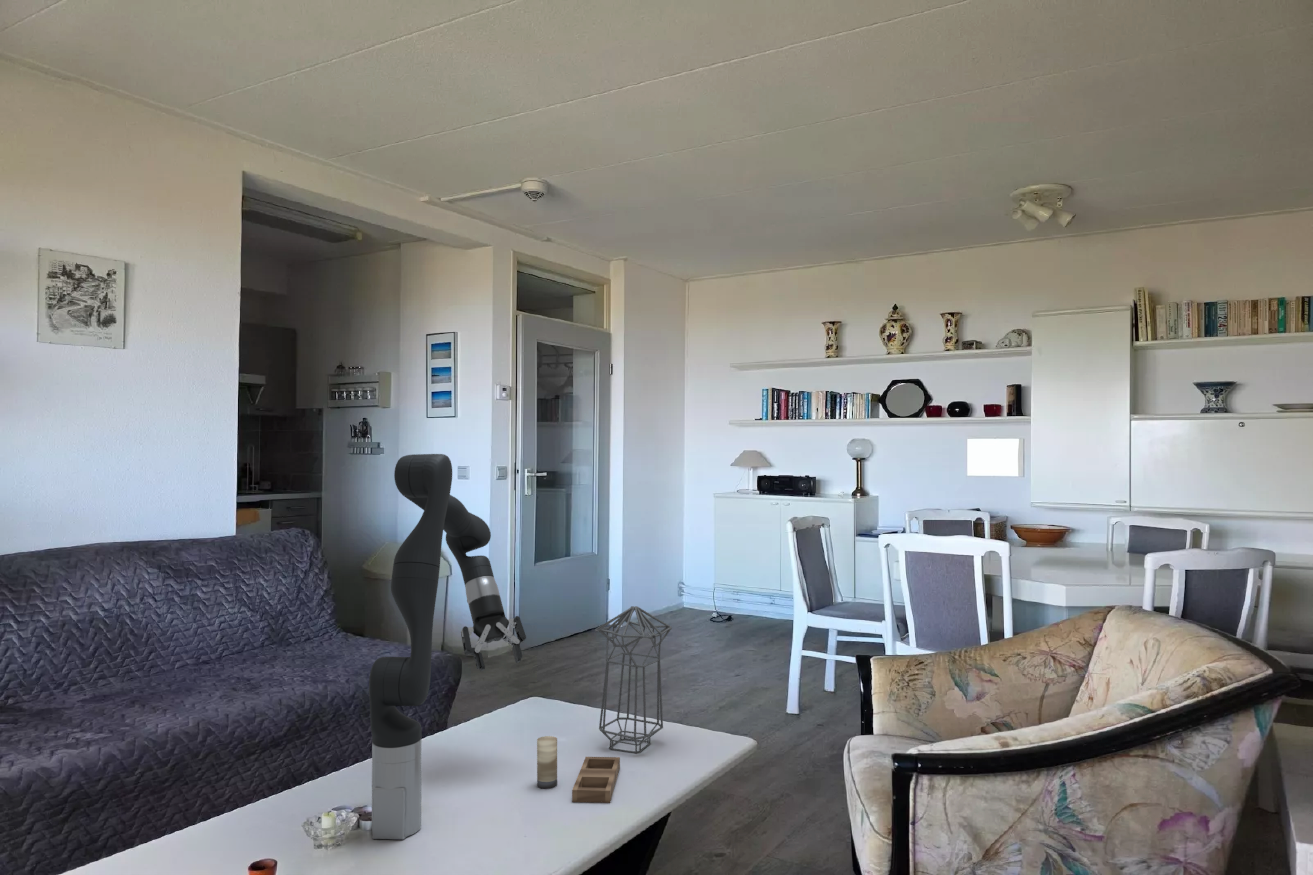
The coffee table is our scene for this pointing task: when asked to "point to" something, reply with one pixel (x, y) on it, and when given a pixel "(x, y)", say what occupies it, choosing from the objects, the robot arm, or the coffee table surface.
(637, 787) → the coffee table surface
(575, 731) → the coffee table surface
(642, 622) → the geometric lantern
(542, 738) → the banded peg
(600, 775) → the socket block
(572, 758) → the coffee table surface
